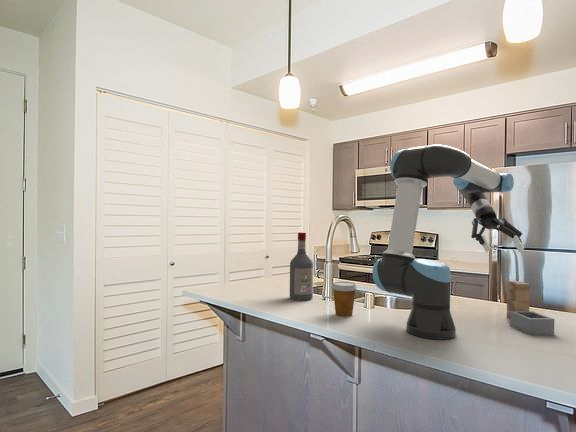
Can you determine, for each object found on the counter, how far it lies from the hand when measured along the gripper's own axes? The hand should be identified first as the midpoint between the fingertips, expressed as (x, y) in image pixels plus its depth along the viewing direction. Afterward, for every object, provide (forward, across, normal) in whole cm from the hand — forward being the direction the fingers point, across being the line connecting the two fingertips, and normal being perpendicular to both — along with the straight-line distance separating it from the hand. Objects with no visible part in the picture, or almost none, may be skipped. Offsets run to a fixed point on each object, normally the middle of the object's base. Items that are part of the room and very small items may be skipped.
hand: (505, 250), depth 148 cm
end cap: (+32, +4, -3) cm, 32 cm away
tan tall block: (+24, 0, -12) cm, 26 cm away
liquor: (-2, +78, -37) cm, 86 cm away
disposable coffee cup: (+18, +64, -17) cm, 69 cm away
